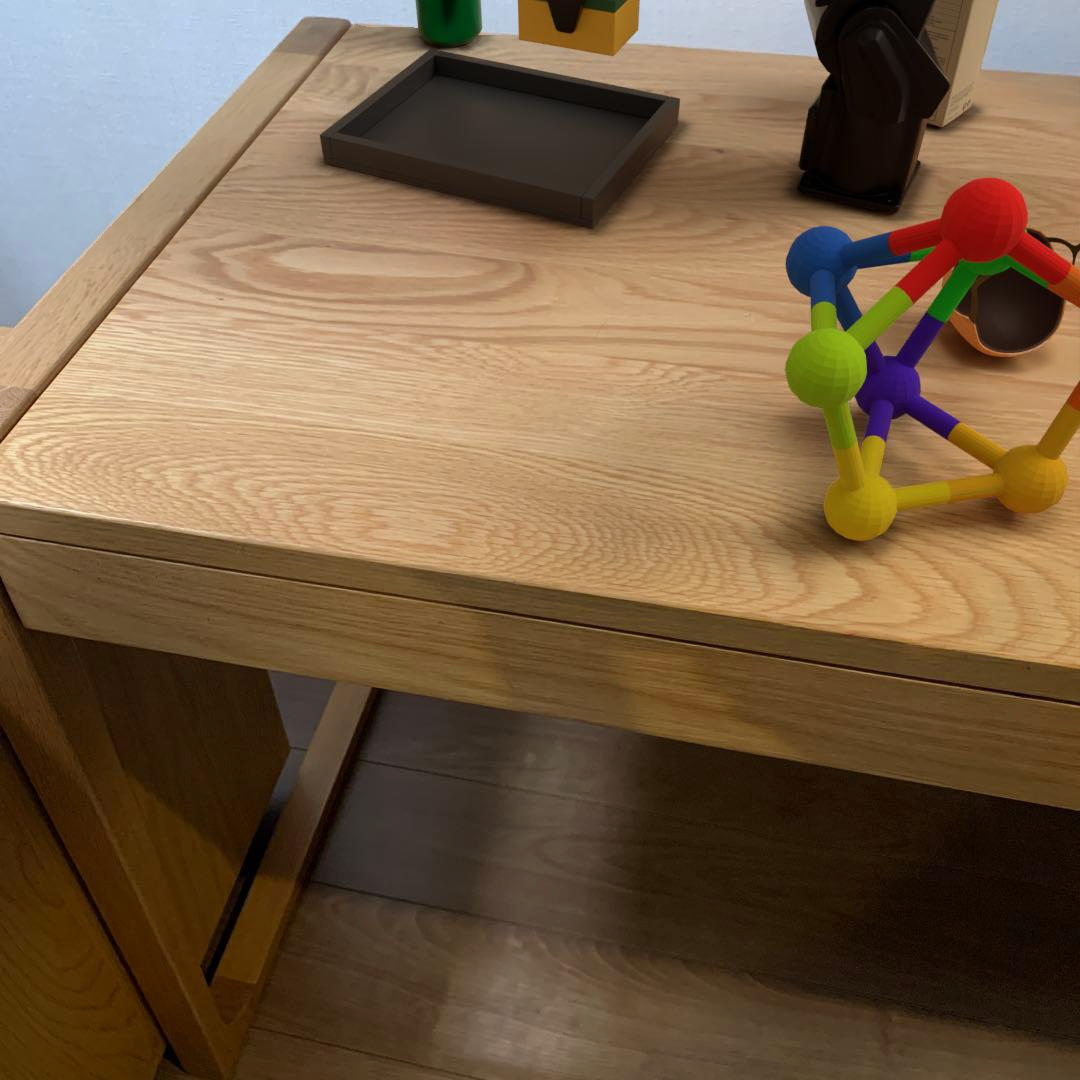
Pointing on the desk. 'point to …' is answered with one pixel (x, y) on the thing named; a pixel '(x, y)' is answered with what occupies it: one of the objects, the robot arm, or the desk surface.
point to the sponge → (582, 25)
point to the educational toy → (918, 355)
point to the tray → (505, 135)
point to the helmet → (1010, 309)
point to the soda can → (449, 21)
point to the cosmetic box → (959, 50)
